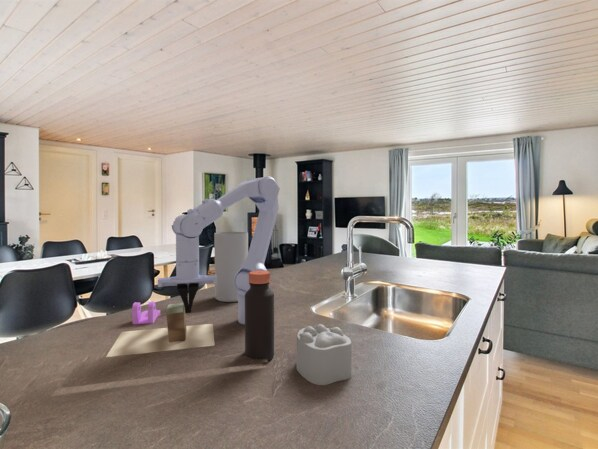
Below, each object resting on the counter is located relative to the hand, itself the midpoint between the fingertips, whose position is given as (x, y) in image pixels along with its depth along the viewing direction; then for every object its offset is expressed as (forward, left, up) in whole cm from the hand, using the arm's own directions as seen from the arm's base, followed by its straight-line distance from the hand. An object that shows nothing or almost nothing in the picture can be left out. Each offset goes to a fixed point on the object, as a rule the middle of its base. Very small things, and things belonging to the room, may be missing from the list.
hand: (188, 312), depth 89 cm
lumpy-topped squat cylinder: (-28, +24, -8) cm, 38 cm away
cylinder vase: (-14, -38, -8) cm, 41 cm away
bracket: (+13, -20, -8) cm, 25 cm away
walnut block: (+3, 0, -6) cm, 7 cm away
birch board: (+6, 0, -7) cm, 9 cm away
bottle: (-16, +15, -8) cm, 23 cm away
